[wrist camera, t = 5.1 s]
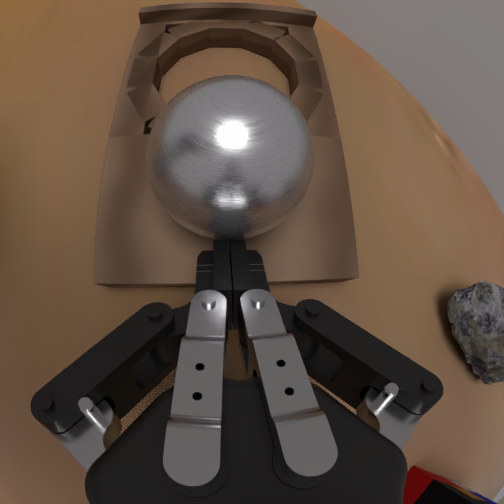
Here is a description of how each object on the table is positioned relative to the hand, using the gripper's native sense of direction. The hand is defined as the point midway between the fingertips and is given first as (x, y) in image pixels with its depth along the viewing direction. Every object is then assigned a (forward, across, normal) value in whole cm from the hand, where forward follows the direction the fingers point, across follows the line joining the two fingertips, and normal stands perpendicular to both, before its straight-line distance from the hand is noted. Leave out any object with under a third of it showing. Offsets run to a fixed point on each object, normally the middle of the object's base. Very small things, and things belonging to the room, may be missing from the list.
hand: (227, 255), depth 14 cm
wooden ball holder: (+11, 0, -4) cm, 12 cm away
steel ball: (+2, 0, -4) cm, 5 cm away
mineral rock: (-1, -23, +9) cm, 25 cm away
